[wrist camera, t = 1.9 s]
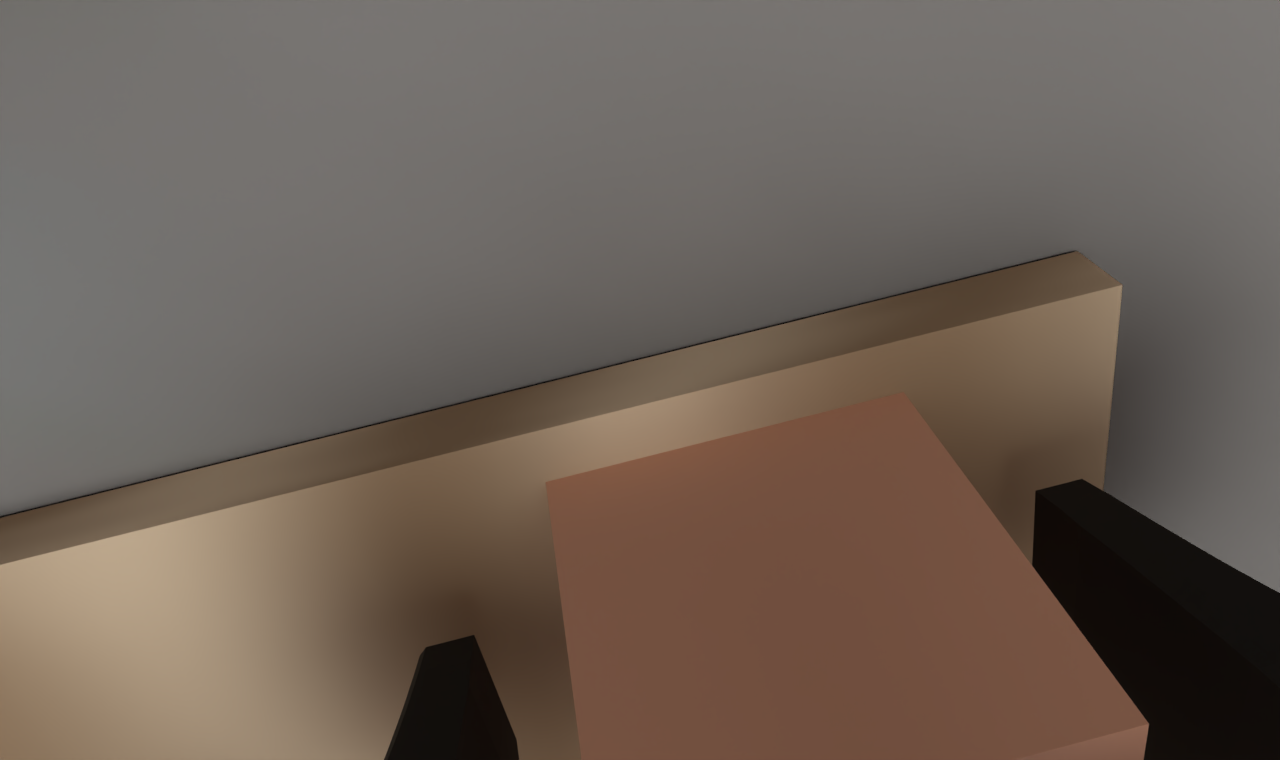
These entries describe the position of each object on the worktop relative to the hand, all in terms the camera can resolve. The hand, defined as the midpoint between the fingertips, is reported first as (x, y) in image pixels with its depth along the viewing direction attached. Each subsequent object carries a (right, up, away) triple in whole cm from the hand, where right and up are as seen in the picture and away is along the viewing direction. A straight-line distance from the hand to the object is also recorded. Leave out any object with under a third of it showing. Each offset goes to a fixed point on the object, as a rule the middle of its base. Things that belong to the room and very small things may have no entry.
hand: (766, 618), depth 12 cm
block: (0, 0, +1) cm, 1 cm away
